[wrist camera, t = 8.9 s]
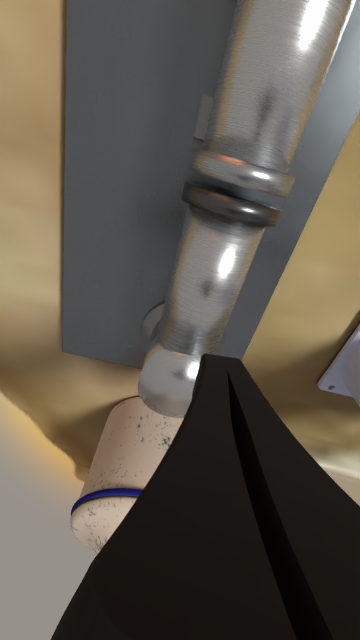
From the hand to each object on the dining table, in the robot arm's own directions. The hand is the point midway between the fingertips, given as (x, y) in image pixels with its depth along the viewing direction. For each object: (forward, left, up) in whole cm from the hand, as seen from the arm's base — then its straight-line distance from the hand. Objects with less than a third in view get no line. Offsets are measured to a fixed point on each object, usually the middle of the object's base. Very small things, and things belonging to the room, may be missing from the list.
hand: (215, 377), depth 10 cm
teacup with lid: (0, +16, -10) cm, 19 cm away
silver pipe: (0, +1, -9) cm, 9 cm away
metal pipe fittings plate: (+2, -4, -10) cm, 11 cm away
